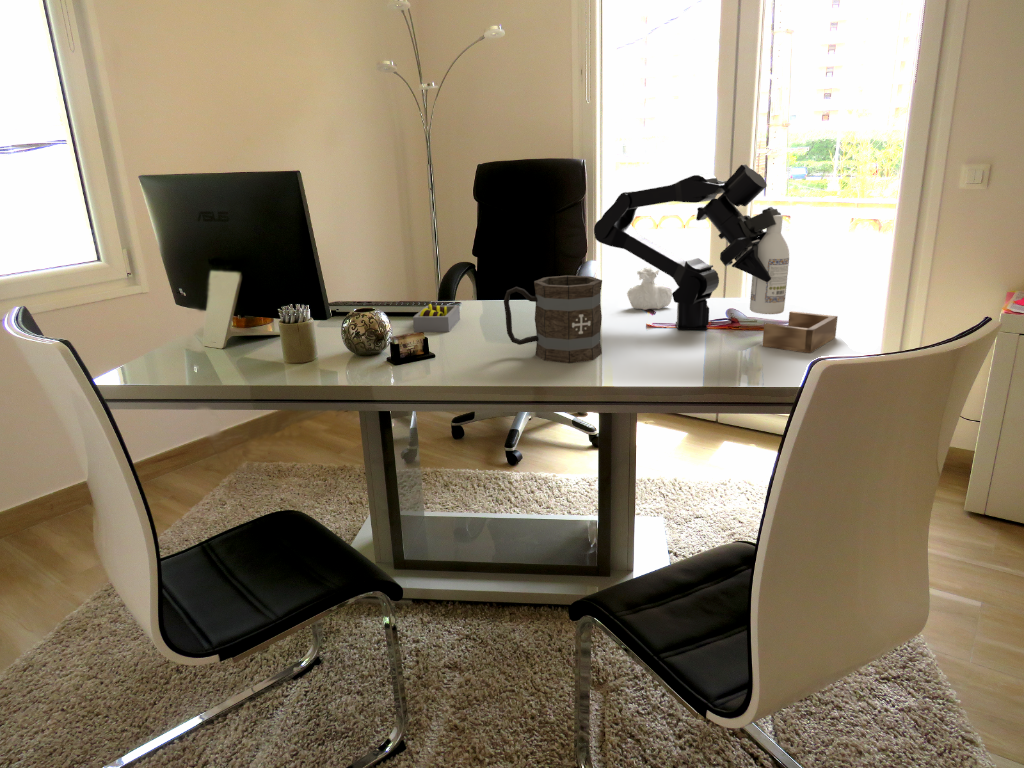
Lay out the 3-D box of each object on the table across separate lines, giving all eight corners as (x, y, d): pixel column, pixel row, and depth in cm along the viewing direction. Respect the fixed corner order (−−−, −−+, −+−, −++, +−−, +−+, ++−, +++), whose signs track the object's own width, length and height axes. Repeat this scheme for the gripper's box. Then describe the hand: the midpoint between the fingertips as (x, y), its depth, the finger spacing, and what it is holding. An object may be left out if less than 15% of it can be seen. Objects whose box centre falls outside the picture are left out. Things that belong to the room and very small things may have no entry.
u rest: (762, 346, 149) (764, 324, 148) (789, 331, 160) (791, 311, 159) (810, 353, 143) (812, 330, 142) (835, 337, 154) (837, 316, 153)
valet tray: (414, 331, 171) (413, 317, 170) (427, 319, 184) (426, 305, 183) (449, 331, 170) (448, 317, 169) (460, 319, 183) (459, 305, 181)
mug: (599, 345, 154) (600, 274, 150) (604, 362, 141) (604, 286, 137) (507, 346, 155) (505, 276, 151) (503, 364, 143) (500, 288, 138)
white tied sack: (670, 314, 191) (661, 276, 195) (679, 301, 184) (670, 262, 188) (625, 317, 190) (618, 278, 193) (633, 303, 183) (625, 264, 186)
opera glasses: (441, 331, 172) (440, 310, 170) (419, 331, 172) (418, 310, 171) (449, 321, 181) (448, 302, 179) (429, 322, 181) (427, 302, 180)
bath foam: (789, 311, 154) (799, 215, 149) (773, 316, 150) (783, 217, 144) (759, 307, 159) (767, 213, 153) (743, 311, 155) (751, 215, 149)
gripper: (738, 197, 143) (789, 258, 140) (775, 192, 157) (822, 247, 153) (699, 236, 150) (746, 294, 147) (737, 227, 164) (781, 280, 160)
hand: (776, 278), depth 152 cm, fingers closed on bath foam, 7 cm apart
